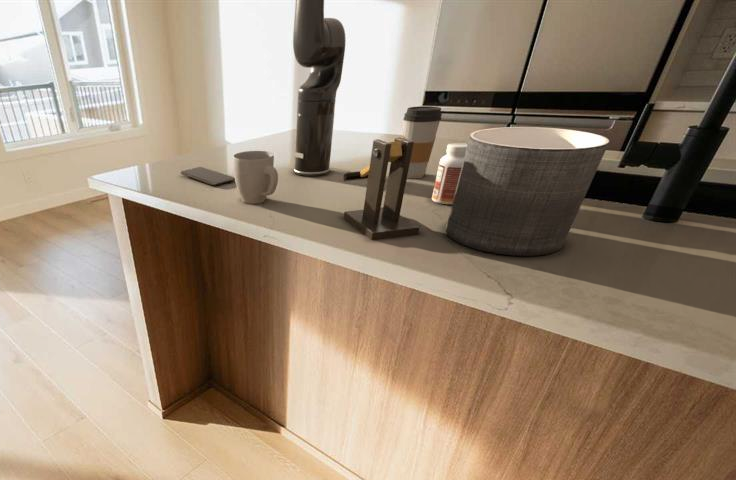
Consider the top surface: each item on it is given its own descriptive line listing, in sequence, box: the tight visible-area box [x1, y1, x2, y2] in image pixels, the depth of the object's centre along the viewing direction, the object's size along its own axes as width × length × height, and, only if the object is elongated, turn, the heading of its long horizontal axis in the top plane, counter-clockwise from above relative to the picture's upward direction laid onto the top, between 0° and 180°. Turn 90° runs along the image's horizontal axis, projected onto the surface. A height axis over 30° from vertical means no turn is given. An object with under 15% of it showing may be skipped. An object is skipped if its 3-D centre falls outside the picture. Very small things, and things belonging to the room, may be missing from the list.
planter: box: [445, 126, 610, 257], centre depth 69 cm, size 18×18×16 cm
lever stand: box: [343, 136, 421, 241], centre depth 76 cm, size 12×9×15 cm
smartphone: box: [180, 166, 235, 186], centre depth 114 cm, size 7×1×16 cm
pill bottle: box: [431, 142, 468, 206], centre depth 87 cm, size 6×6×11 cm
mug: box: [232, 150, 279, 205], centre depth 93 cm, size 12×9×10 cm
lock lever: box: [342, 141, 402, 182], centre depth 78 cm, size 14×7×2 cm, turn 10°
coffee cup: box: [401, 105, 443, 179], centre depth 103 cm, size 8×8×15 cm
